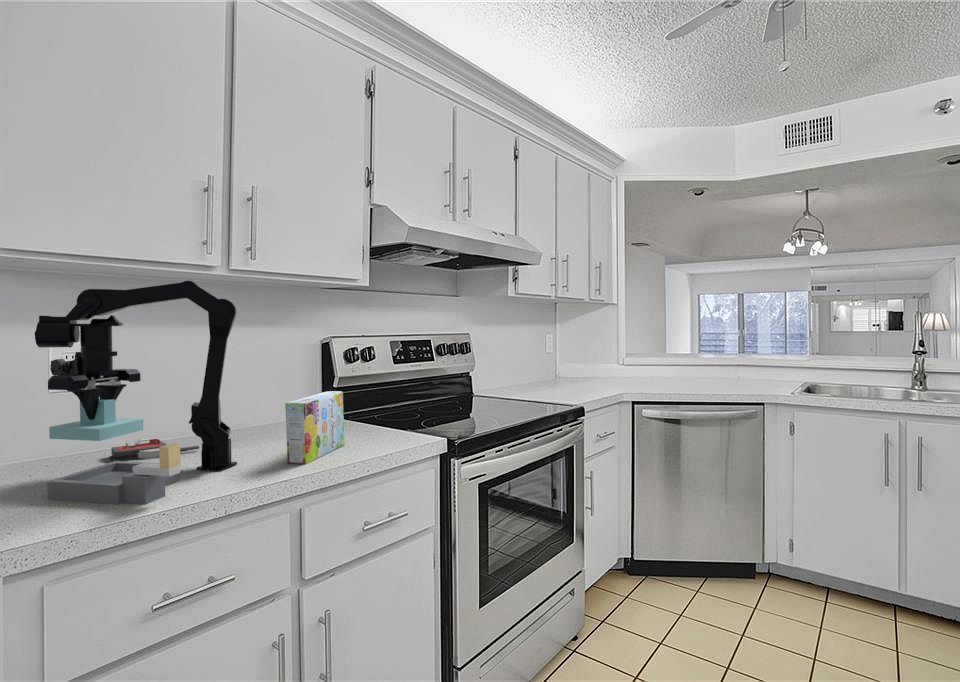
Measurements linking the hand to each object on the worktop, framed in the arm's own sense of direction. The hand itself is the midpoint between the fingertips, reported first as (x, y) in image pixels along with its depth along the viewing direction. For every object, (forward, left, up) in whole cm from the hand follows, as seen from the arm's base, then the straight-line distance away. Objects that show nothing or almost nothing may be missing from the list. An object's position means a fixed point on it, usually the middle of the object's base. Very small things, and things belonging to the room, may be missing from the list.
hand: (98, 418), depth 123 cm
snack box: (-30, +37, -14) cm, 49 cm away
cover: (0, 0, -4) cm, 4 cm away
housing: (+6, +13, -13) cm, 20 cm away
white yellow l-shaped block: (+11, +24, -8) cm, 28 cm away
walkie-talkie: (-21, -5, -14) cm, 26 cm away
